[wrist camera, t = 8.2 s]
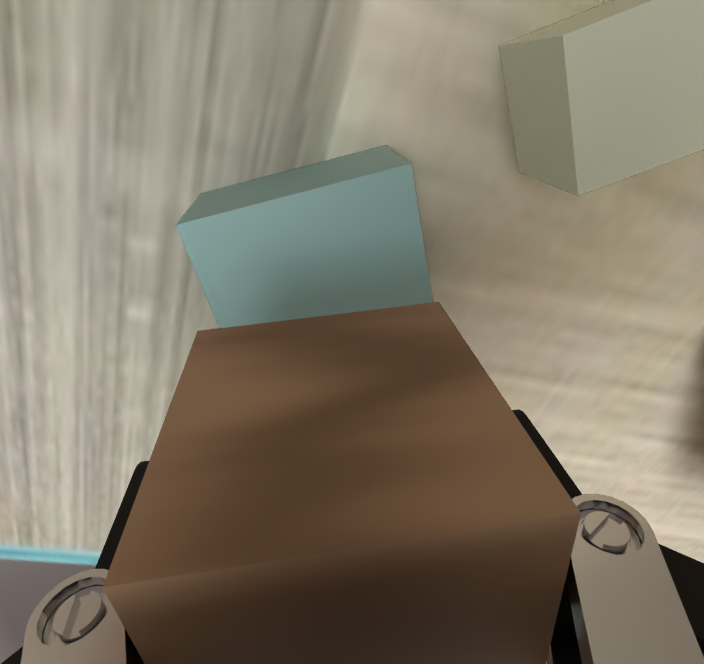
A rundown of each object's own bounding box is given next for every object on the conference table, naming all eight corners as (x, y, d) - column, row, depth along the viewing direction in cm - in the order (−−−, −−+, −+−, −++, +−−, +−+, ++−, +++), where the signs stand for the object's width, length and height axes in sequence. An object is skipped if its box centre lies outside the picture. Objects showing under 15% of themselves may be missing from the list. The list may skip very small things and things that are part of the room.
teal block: (385, 144, 20) (411, 163, 15) (414, 309, 23) (442, 362, 19) (201, 192, 20) (175, 225, 15) (262, 348, 24) (254, 409, 19)
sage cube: (623, -5, 18) (730, -32, 13) (628, 129, 20) (720, 143, 16) (498, 45, 18) (562, 35, 14) (517, 170, 21) (578, 196, 16)
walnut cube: (438, 301, 11) (580, 513, 5) (436, 474, 13) (530, 727, 8) (197, 331, 10) (102, 587, 5) (244, 502, 13) (212, 787, 8)
